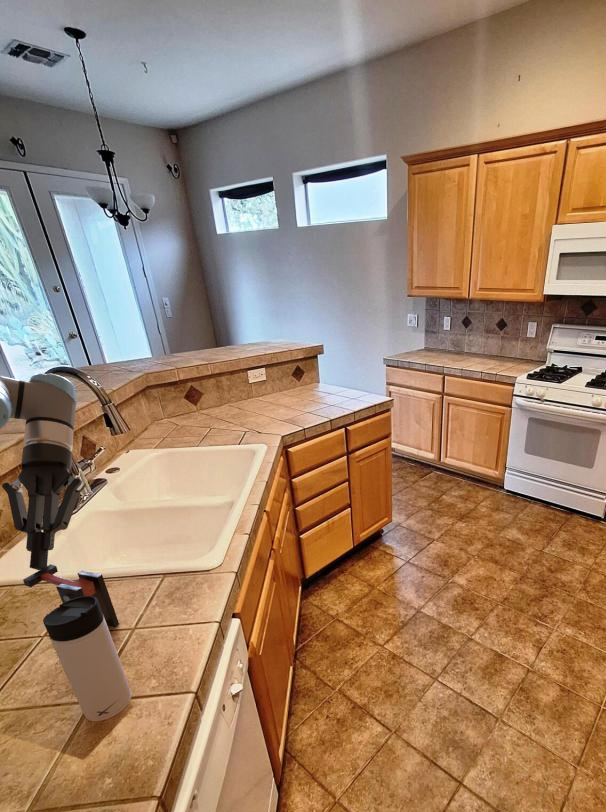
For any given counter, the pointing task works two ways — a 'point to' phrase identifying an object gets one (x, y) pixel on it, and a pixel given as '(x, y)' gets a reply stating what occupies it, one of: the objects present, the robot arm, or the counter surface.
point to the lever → (58, 580)
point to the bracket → (101, 595)
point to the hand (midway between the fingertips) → (38, 568)
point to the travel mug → (88, 657)
